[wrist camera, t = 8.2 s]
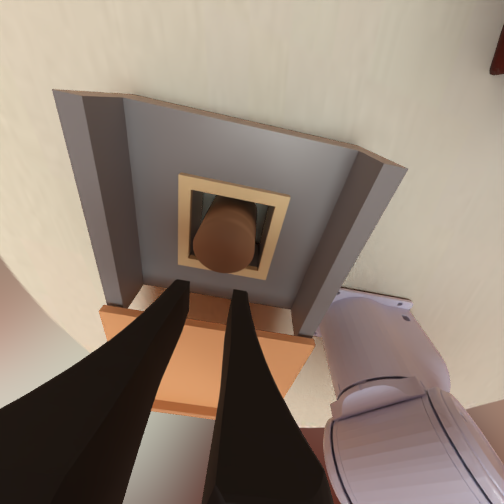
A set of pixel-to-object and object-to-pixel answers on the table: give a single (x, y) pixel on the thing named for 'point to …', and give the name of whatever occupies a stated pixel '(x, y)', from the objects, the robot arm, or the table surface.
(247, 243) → the brown cylinder
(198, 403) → the lid
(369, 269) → the table surface
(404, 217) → the table surface
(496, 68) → the vintage gas pump
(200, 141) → the housing
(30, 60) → the table surface
